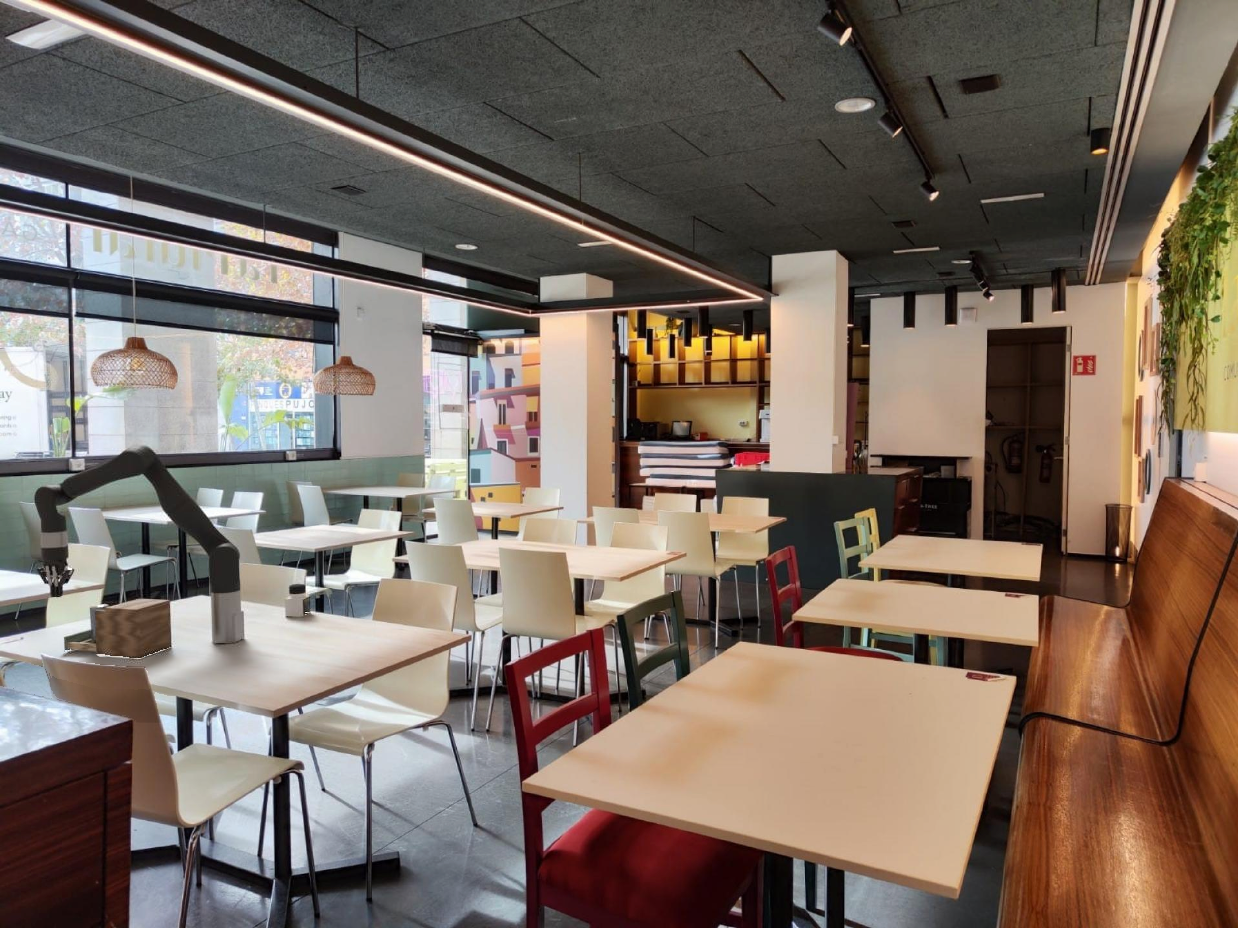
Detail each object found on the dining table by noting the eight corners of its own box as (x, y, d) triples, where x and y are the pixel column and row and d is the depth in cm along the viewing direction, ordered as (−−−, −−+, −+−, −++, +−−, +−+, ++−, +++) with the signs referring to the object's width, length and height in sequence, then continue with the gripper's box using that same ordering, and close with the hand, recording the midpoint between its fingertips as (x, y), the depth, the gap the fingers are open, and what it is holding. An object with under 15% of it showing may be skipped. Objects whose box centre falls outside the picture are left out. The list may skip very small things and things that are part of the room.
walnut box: (171, 647, 280) (170, 600, 279) (138, 659, 266) (136, 609, 265) (130, 645, 283) (129, 598, 282) (96, 656, 270) (94, 607, 269)
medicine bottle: (303, 617, 322) (302, 586, 322) (285, 617, 322) (284, 586, 322) (310, 612, 329) (310, 582, 329) (292, 612, 329) (291, 582, 329)
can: (109, 639, 281) (107, 603, 280) (112, 642, 277) (110, 605, 276) (90, 642, 278) (88, 606, 277) (93, 646, 274) (91, 608, 273)
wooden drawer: (134, 645, 281) (134, 631, 281) (108, 655, 270) (107, 639, 270) (92, 643, 285) (92, 628, 285) (64, 652, 274) (64, 636, 274)
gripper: (27, 546, 277) (30, 598, 278) (61, 547, 274) (63, 600, 275) (47, 542, 285) (50, 593, 286) (81, 543, 282) (83, 595, 283)
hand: (56, 596), depth 280 cm, fingers closed
